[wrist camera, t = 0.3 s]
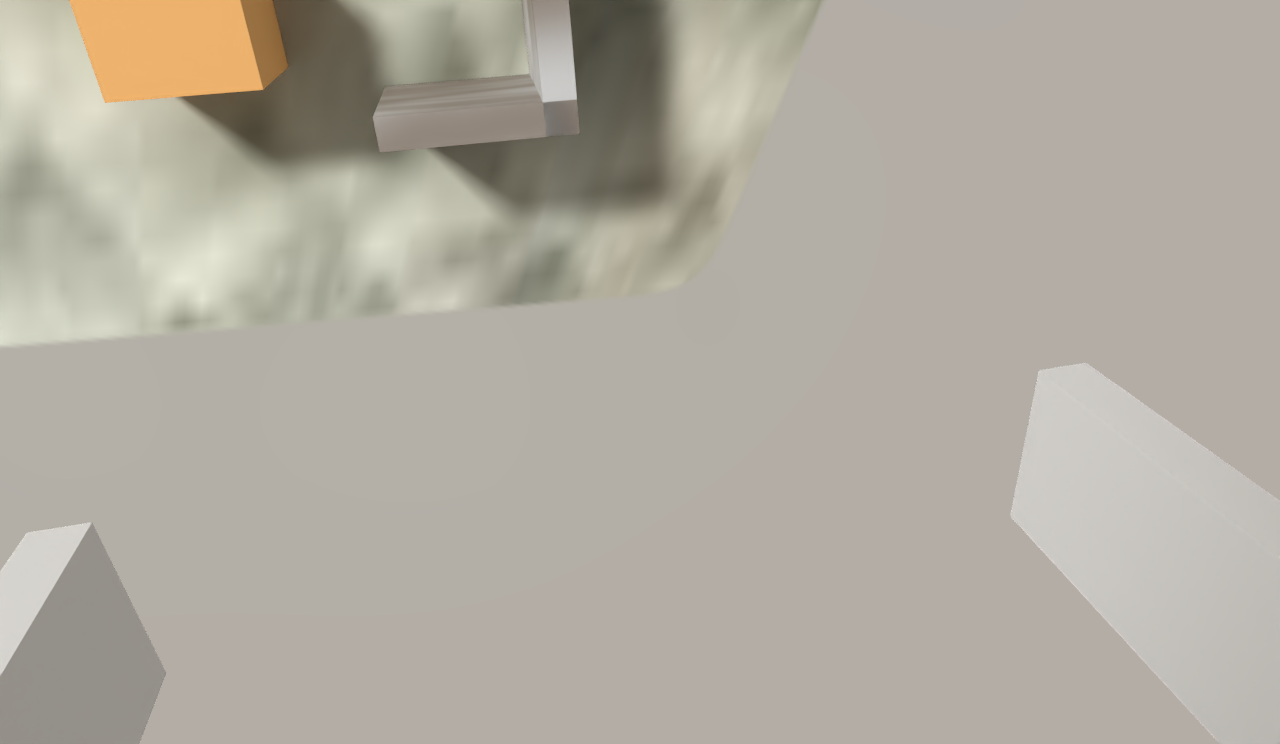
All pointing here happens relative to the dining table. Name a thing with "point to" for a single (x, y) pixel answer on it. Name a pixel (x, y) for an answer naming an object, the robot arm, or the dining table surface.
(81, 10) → the grey and orange bar
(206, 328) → the dining table surface
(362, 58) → the dining table surface
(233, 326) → the dining table surface
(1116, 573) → the robot arm
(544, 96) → the rail
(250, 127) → the dining table surface
